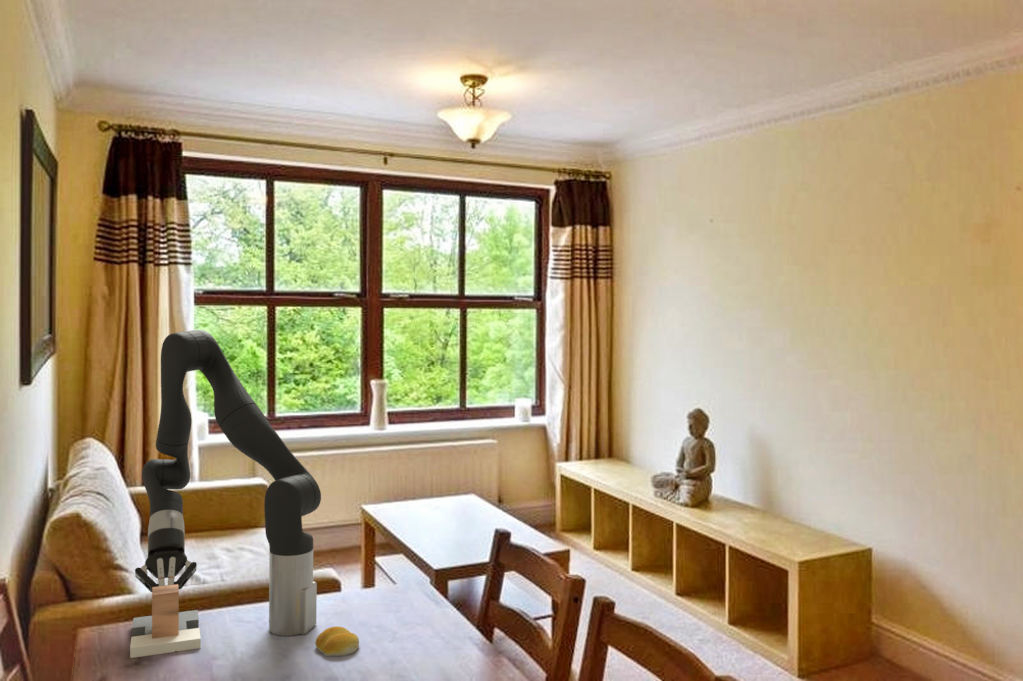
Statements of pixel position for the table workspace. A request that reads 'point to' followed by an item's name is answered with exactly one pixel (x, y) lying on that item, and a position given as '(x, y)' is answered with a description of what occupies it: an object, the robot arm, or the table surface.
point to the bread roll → (337, 642)
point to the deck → (145, 623)
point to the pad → (165, 643)
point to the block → (165, 611)
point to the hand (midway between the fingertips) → (166, 607)
